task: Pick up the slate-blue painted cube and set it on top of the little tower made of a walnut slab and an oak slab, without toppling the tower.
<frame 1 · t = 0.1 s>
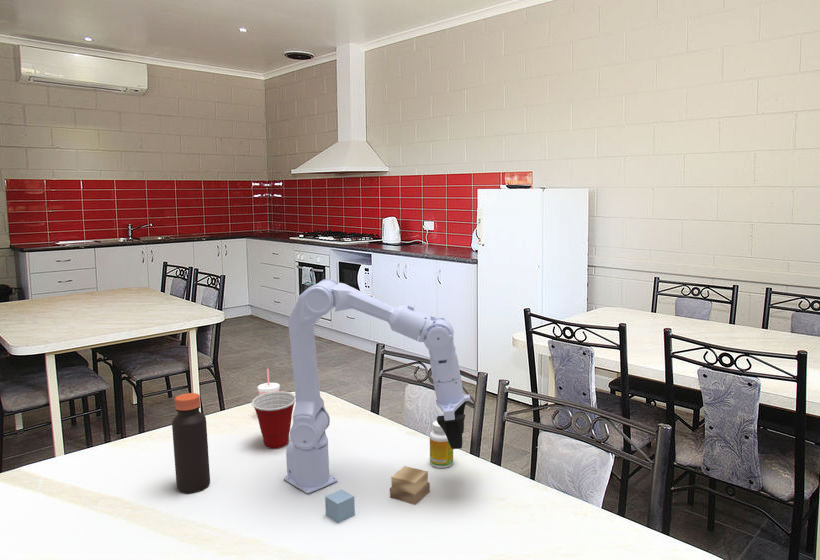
hand: (457, 440, 122), 11 cm above the table, tool pointing down, fingers open, 7 cm apart
walnut slab: (410, 496, 121), on the table, touching oak slab
plastic cup: (276, 445, 147), on the table
slate blue cube: (340, 515, 113), on the table
oak slab: (409, 485, 121), point 2 cm above the table, touching walnut slab
beverage cup: (270, 417, 166), on the table
supplement bottle: (441, 464, 135), on the table
vinegar: (193, 486, 126), on the table
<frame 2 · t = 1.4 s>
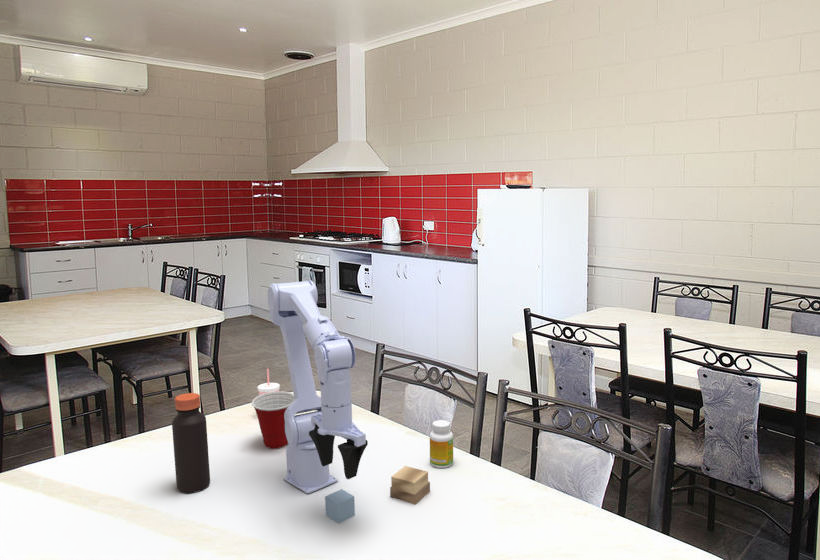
hand: (338, 470, 112), 9 cm above the table, tool pointing down, fingers open, 7 cm apart
nothing on the table moved.
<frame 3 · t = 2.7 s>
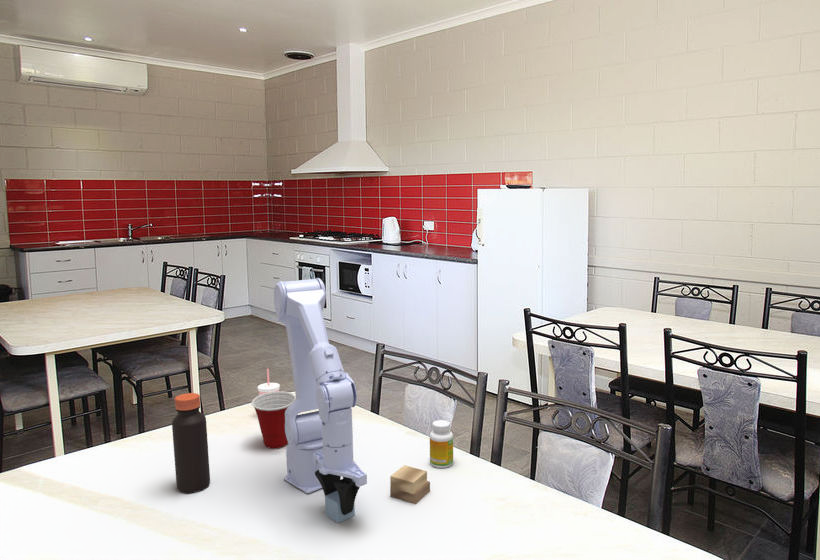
hand: (340, 508, 113), 1 cm above the table, tool pointing down, fingers closed on slate blue cube, 4 cm apart
slate blue cube: (340, 515, 113), on the table, touching gripper
everything else where it was.
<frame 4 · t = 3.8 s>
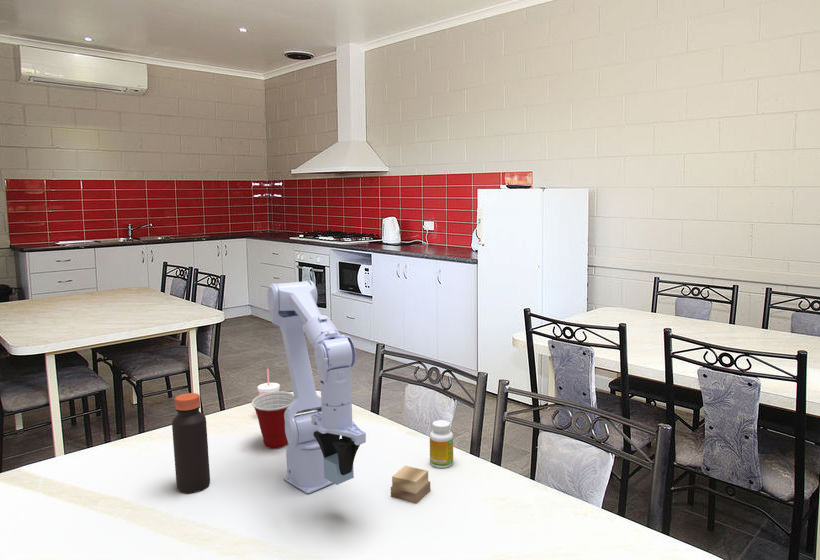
hand: (338, 469, 112), 9 cm above the table, tool pointing down, fingers closed on slate blue cube, 4 cm apart
slate blue cube: (339, 477, 112), point 8 cm above the table, touching gripper
everything else where it was.
when the fingers open (7 cm above the table, at t = 5.7 s): slate blue cube stays where it is, resting on oak slab.
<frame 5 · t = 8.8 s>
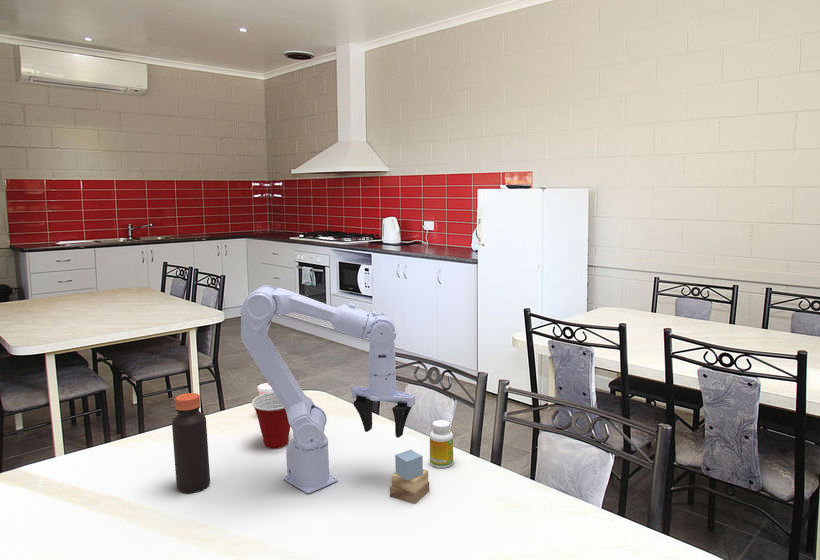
hand: (383, 433, 126), 10 cm above the table, tool pointing down, fingers open, 7 cm apart
slate blue cube: (409, 473, 120), point 5 cm above the table, touching oak slab
oak slab: (410, 484, 121), point 2 cm above the table, touching slate blue cube, walnut slab
everything else where it was.
at the end: slate blue cube 0.5 cm off-centre on the walnut slab, point 5.0 cm above the walnut slab's base; oak slab 0.1 cm off-centre on the walnut slab, point 2.5 cm above the walnut slab's base; the gripper is holding nothing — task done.
